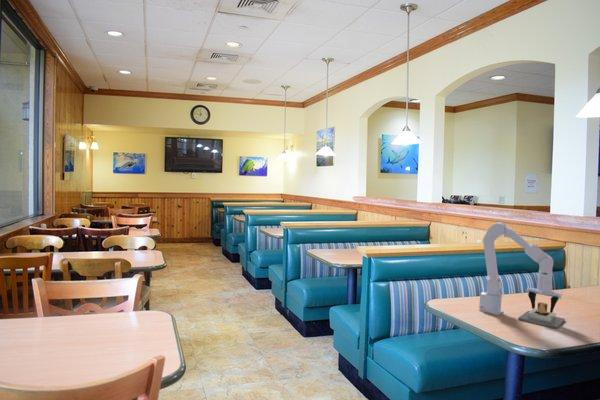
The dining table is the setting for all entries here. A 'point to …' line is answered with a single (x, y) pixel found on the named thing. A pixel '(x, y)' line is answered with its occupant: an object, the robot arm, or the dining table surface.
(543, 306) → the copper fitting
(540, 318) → the flange socket
